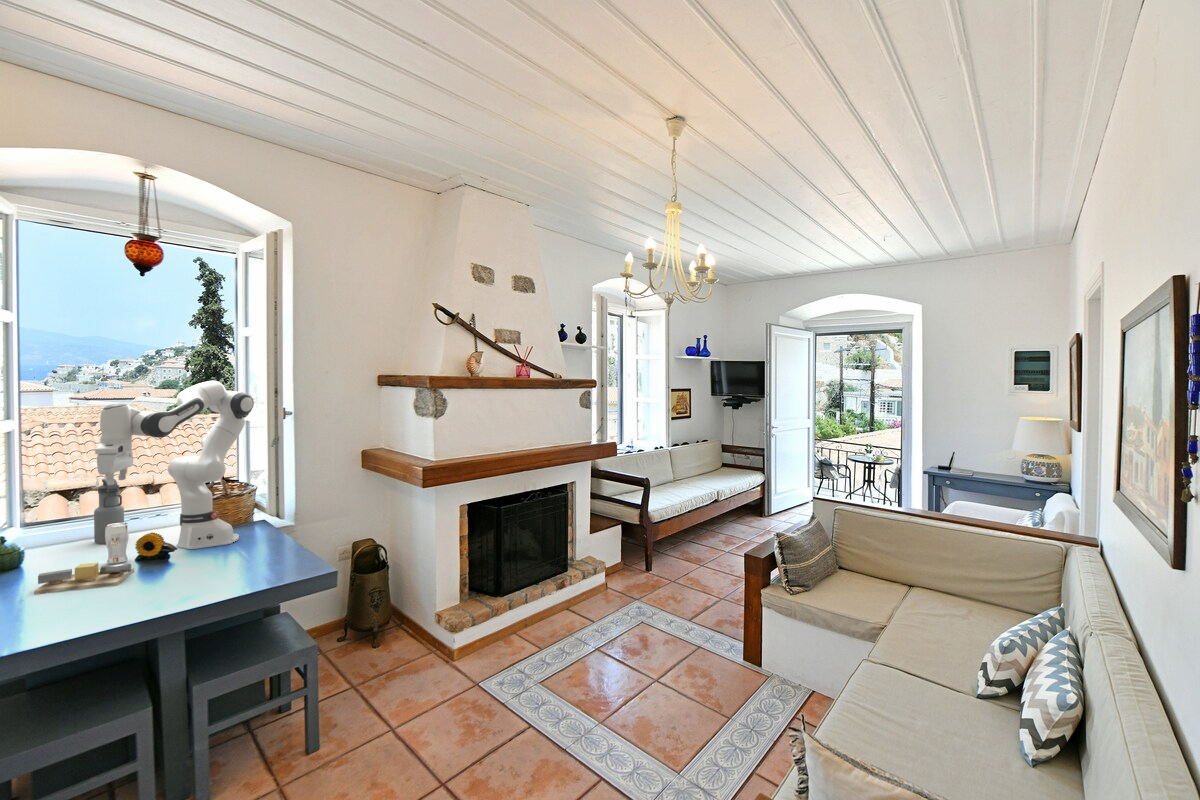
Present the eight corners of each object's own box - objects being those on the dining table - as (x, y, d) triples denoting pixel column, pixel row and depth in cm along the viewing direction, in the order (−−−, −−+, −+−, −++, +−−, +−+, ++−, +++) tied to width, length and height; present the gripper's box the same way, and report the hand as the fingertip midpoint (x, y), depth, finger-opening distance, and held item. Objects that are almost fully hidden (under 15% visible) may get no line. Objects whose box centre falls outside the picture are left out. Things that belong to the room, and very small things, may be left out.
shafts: (131, 570, 194) (131, 562, 194) (125, 575, 190) (125, 566, 190) (43, 579, 184) (43, 570, 184) (35, 584, 180) (35, 575, 180)
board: (133, 571, 199) (133, 565, 199) (117, 585, 186) (117, 578, 186) (56, 579, 190) (56, 573, 190) (34, 594, 177) (34, 587, 177)
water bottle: (128, 540, 234) (127, 479, 233) (98, 546, 226) (97, 482, 225) (120, 536, 240) (119, 476, 239) (91, 541, 231) (90, 479, 230)
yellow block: (74, 581, 185) (74, 567, 185) (80, 577, 189) (80, 564, 189) (93, 579, 187) (93, 566, 187) (98, 575, 191) (98, 562, 191)
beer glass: (102, 562, 207) (101, 525, 206) (124, 557, 213) (124, 521, 213) (109, 566, 204) (109, 528, 203) (132, 560, 210) (131, 524, 209)
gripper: (117, 443, 206) (118, 477, 207) (92, 450, 188) (93, 488, 188) (138, 442, 209) (138, 476, 209) (115, 449, 190) (115, 486, 191)
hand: (116, 482), depth 199 cm, fingers open, 8 cm apart
